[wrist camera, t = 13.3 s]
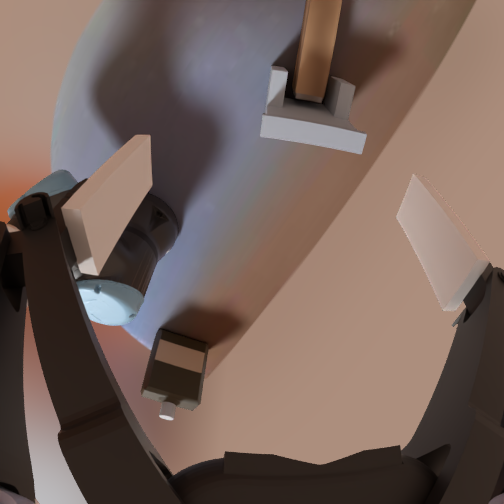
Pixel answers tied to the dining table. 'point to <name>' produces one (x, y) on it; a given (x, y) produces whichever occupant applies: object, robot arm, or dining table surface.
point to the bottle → (175, 372)
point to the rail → (315, 49)
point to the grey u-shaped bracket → (311, 116)
